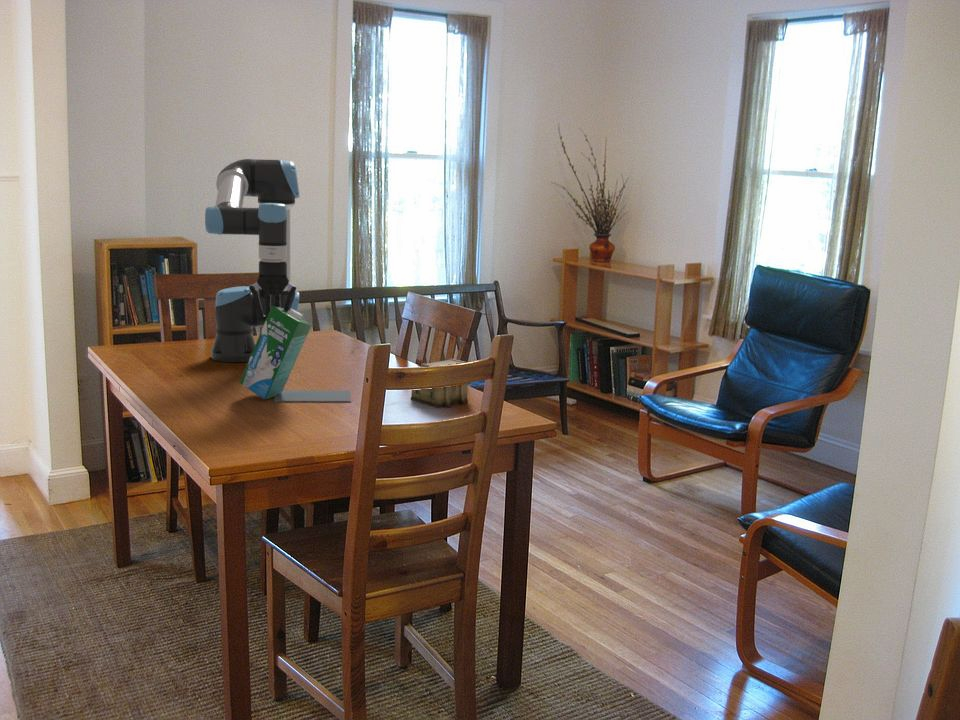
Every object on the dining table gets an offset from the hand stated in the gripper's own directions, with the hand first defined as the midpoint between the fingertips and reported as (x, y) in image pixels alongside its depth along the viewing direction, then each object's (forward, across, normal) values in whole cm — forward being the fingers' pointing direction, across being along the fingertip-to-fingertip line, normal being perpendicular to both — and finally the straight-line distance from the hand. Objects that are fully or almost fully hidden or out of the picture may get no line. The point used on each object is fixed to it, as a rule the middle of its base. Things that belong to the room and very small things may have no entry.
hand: (273, 344), depth 265 cm
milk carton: (+13, -4, 0) cm, 13 cm away
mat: (+15, +11, 0) cm, 19 cm away
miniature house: (+15, +47, -3) cm, 50 cm away
